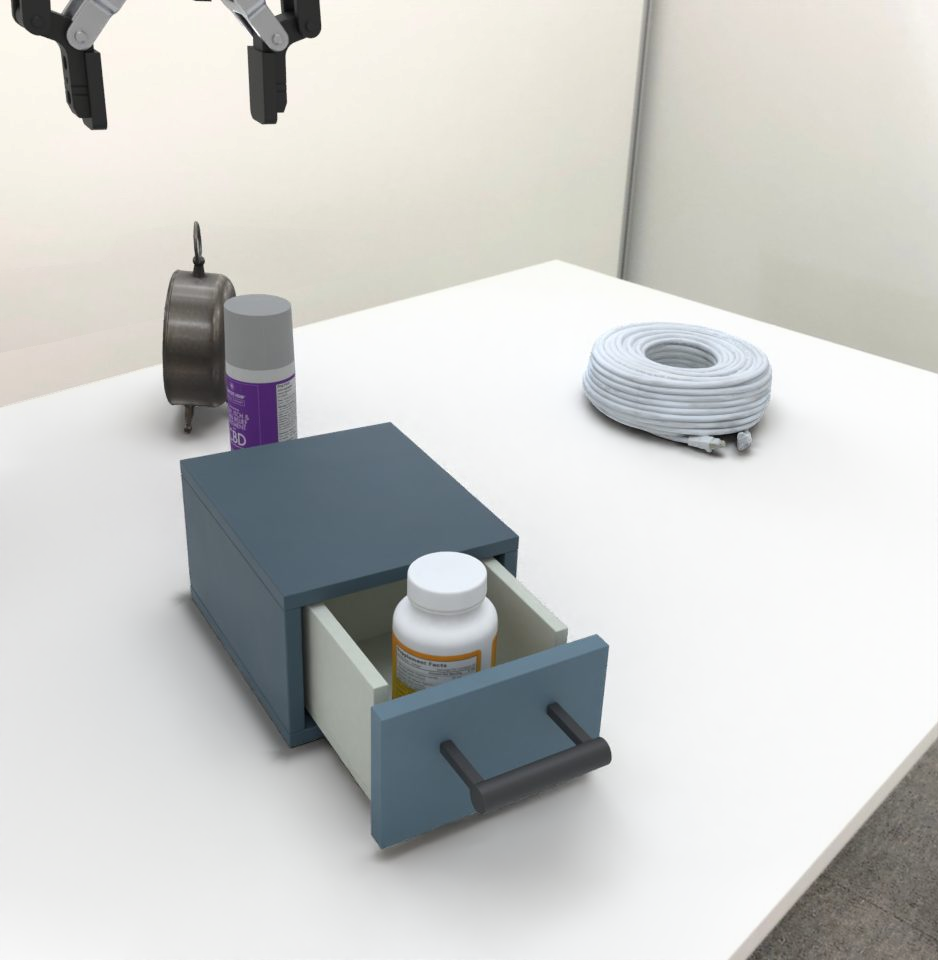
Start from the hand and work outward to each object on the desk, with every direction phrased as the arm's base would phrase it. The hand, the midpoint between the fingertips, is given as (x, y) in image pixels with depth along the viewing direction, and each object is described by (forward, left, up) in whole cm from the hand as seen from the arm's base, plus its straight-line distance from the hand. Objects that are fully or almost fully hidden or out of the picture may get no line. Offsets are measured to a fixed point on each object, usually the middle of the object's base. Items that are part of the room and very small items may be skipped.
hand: (182, 124), depth 61 cm
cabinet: (+6, -6, -30) cm, 31 cm away
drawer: (+6, -19, -29) cm, 35 cm away
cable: (+47, +14, -30) cm, 58 cm away
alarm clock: (+9, +29, -30) cm, 43 cm away
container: (+8, +13, -30) cm, 34 cm away
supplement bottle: (+6, -19, -28) cm, 34 cm away
